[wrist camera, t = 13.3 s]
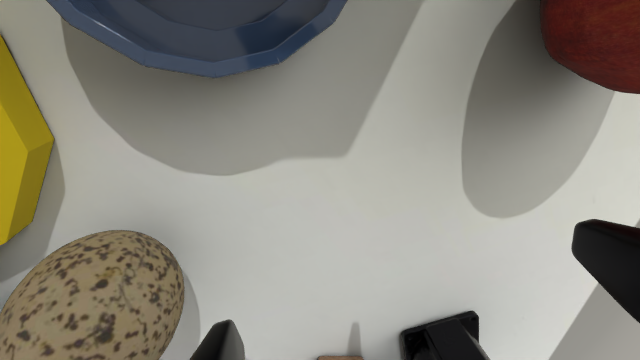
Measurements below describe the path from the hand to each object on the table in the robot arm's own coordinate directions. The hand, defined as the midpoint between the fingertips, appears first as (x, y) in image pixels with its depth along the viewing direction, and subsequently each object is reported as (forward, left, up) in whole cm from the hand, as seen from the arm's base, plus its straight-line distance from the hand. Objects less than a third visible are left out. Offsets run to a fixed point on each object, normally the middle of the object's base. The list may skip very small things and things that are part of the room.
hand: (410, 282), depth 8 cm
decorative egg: (-4, +13, -12) cm, 18 cm away
